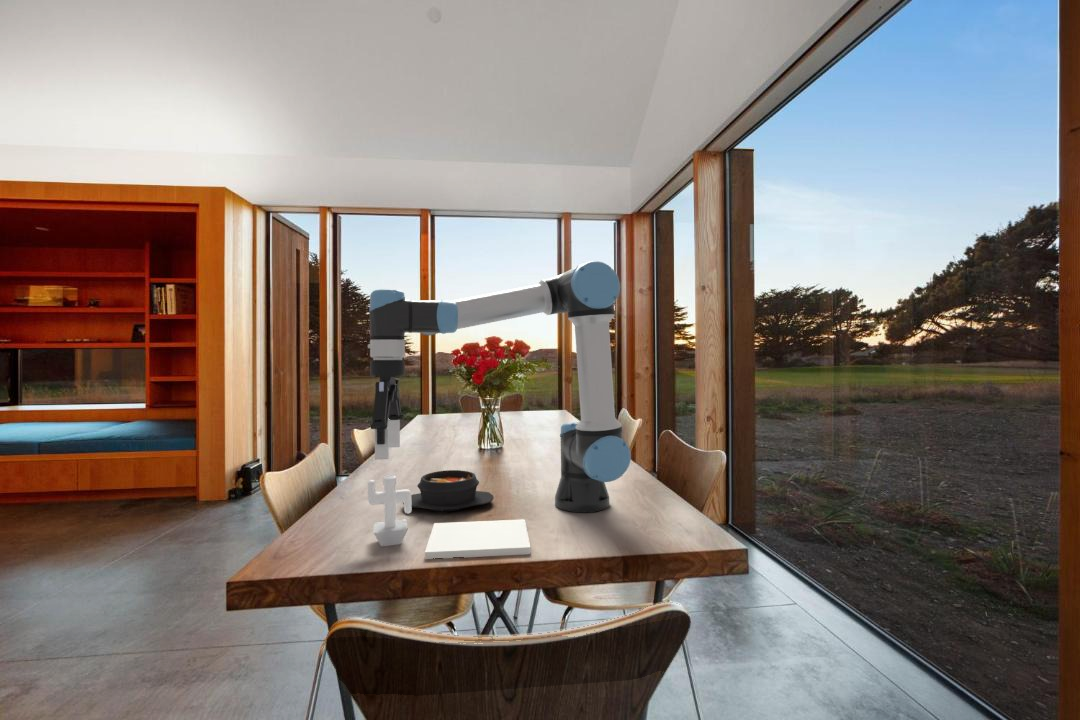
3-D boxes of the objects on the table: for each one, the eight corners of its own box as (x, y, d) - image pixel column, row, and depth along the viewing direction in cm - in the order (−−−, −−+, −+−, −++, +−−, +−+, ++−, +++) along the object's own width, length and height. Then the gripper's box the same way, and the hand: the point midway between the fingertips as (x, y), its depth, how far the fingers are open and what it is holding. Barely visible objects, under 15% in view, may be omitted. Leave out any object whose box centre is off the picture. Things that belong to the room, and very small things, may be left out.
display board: (524, 525, 127) (524, 519, 127) (530, 554, 109) (530, 547, 109) (434, 529, 125) (434, 523, 125) (424, 559, 107) (424, 552, 107)
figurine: (413, 544, 115) (412, 478, 114) (368, 550, 112) (367, 481, 112) (411, 533, 122) (410, 470, 121) (369, 538, 119) (367, 474, 119)
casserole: (493, 494, 154) (493, 467, 154) (493, 514, 136) (493, 483, 135) (408, 497, 152) (408, 469, 152) (397, 518, 133) (396, 486, 133)
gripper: (382, 358, 128) (382, 443, 128) (356, 359, 103) (356, 465, 104) (412, 358, 129) (413, 442, 129) (394, 359, 104) (394, 464, 104)
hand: (388, 452), depth 116 cm, fingers open, 13 cm apart
